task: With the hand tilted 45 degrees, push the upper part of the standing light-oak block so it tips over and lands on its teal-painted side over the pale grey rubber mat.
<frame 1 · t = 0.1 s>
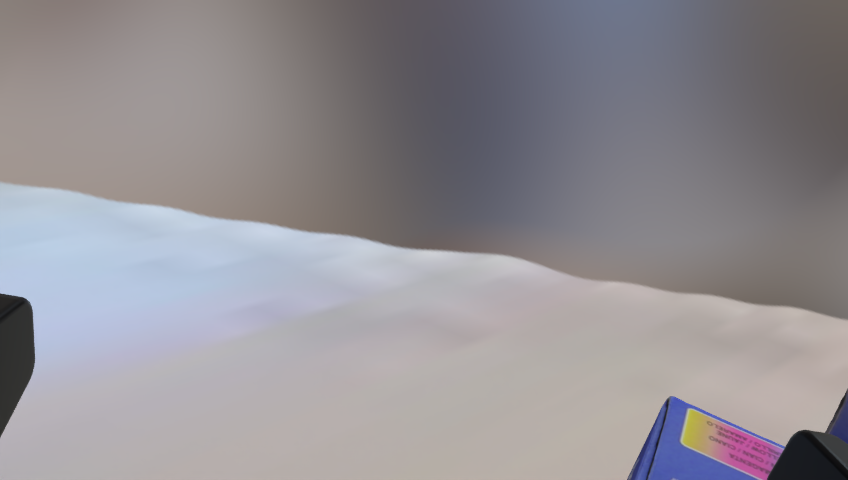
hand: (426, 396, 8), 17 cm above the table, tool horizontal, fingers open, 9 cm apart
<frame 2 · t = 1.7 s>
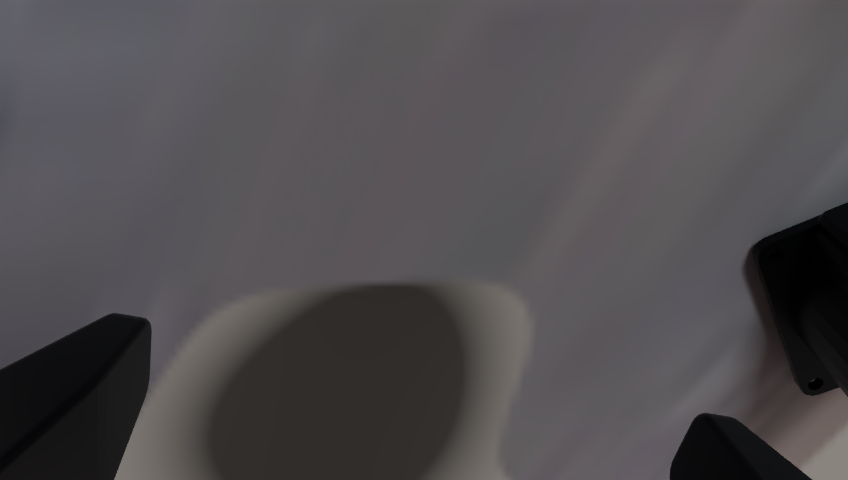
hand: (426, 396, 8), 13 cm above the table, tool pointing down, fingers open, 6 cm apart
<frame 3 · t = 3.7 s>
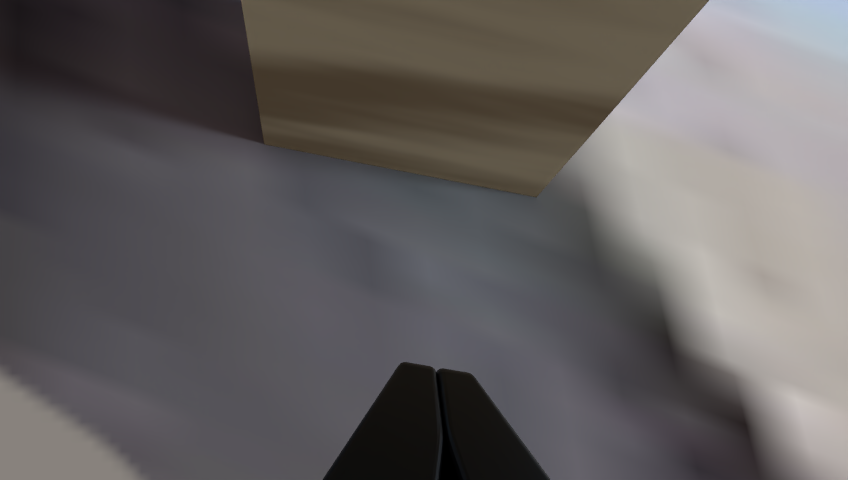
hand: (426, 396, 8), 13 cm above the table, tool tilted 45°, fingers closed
oak block: (414, 103, 24), on the table
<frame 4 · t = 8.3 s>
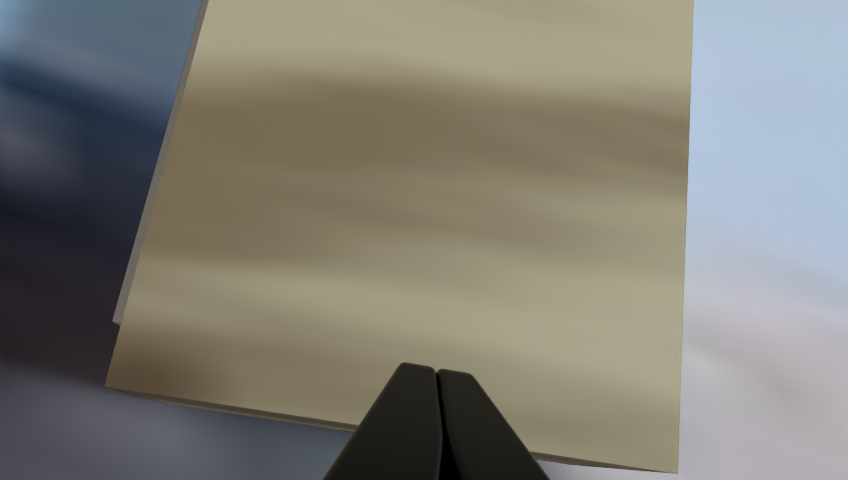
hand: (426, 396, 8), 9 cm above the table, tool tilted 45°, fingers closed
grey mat: (428, 71, 19), on the table
oak block: (386, 433, 13), point 3 cm above the table, tilted 90°, touching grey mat
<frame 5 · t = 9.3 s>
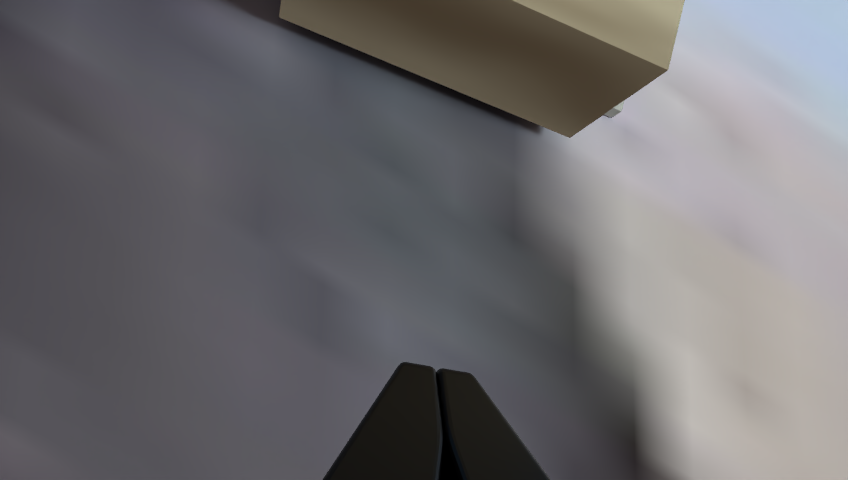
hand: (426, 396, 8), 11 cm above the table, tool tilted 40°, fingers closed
oak block: (456, 41, 18), point 3 cm above the table, tilted 90°, touching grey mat
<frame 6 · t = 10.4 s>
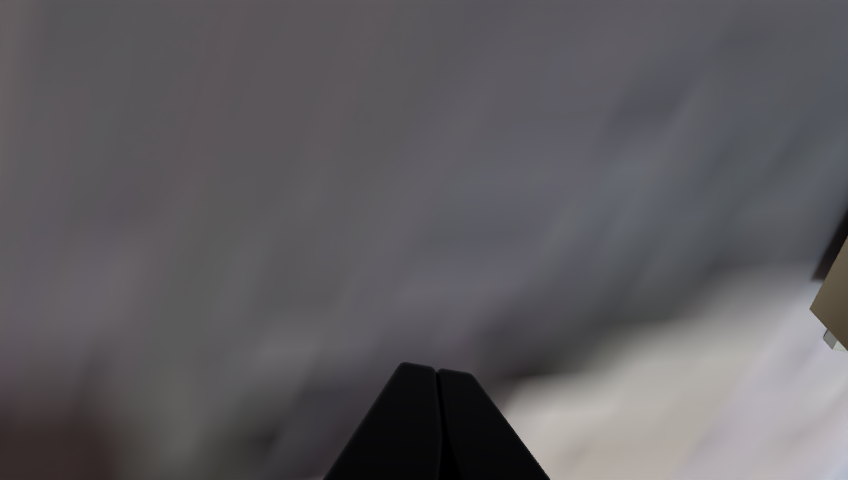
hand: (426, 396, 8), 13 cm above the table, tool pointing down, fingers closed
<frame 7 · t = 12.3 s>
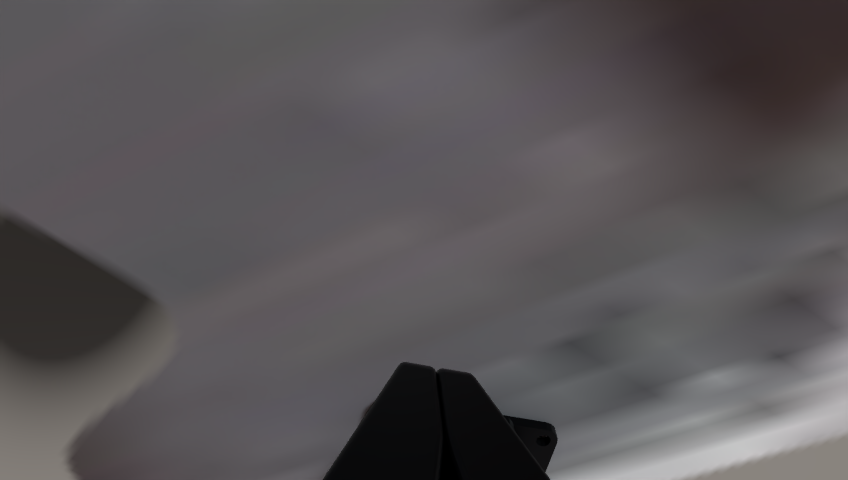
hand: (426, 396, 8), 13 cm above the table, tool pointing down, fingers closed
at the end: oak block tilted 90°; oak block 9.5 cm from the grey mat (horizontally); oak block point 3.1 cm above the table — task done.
